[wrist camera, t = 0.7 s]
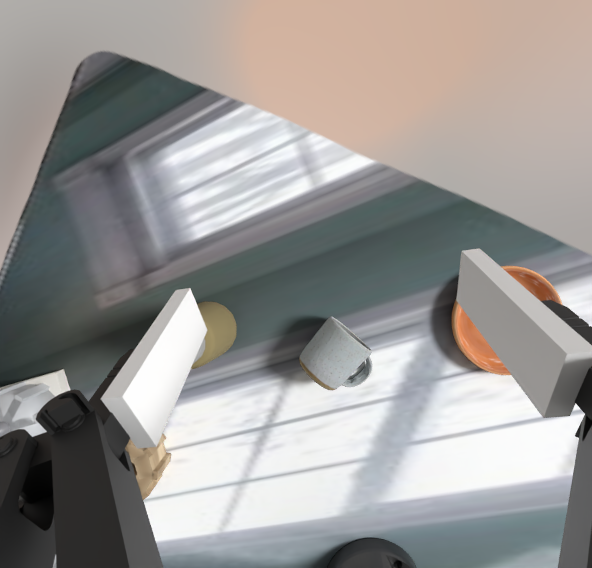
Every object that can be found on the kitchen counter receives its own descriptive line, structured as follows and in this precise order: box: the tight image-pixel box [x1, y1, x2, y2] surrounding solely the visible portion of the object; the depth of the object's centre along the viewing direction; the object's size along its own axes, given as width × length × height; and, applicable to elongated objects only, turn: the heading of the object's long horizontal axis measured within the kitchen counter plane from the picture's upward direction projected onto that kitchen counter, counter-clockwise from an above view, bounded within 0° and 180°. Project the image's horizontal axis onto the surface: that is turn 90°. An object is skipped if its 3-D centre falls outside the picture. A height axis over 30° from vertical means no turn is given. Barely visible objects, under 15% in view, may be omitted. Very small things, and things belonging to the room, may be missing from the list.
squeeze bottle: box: [191, 302, 237, 369], centre depth 38 cm, size 8×8×18 cm
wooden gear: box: [125, 433, 171, 500], centre depth 46 cm, size 9×9×4 cm
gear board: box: [0, 369, 70, 568], centre depth 44 cm, size 32×11×9 cm, turn 16°
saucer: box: [452, 266, 562, 375], centre depth 46 cm, size 16×16×3 cm
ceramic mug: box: [299, 317, 372, 390], centre depth 44 cm, size 11×8×8 cm
